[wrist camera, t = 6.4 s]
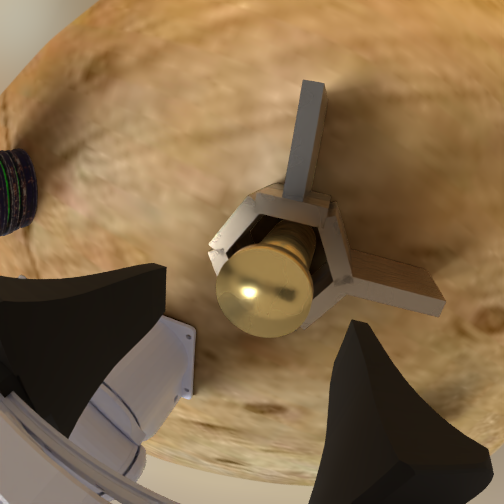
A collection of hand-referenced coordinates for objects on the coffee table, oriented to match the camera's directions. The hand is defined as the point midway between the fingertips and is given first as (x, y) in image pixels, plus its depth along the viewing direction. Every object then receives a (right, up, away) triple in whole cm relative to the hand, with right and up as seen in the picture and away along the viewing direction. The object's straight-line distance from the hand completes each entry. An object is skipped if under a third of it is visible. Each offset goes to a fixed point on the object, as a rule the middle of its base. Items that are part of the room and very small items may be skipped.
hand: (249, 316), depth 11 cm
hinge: (+6, +5, +7) cm, 10 cm away
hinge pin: (+3, +3, +8) cm, 9 cm away
